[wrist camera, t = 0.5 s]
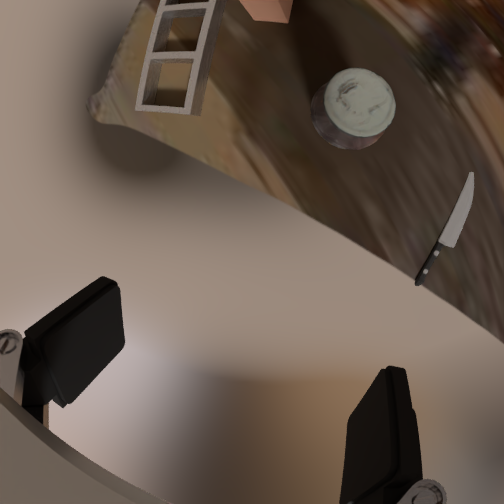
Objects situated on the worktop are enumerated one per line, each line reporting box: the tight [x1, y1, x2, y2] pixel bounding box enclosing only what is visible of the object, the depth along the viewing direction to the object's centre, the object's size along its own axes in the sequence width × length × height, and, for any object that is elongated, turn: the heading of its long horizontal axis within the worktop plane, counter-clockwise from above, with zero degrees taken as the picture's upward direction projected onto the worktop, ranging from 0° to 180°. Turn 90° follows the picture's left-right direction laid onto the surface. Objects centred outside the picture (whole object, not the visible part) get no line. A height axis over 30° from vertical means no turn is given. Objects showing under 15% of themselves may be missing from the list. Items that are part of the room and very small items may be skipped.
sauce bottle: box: [310, 67, 396, 150], centre depth 22 cm, size 6×6×20 cm
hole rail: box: [135, 0, 227, 116], centre depth 29 cm, size 23×9×3 cm, turn 169°
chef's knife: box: [415, 172, 474, 286], centre depth 31 cm, size 19×1×3 cm
